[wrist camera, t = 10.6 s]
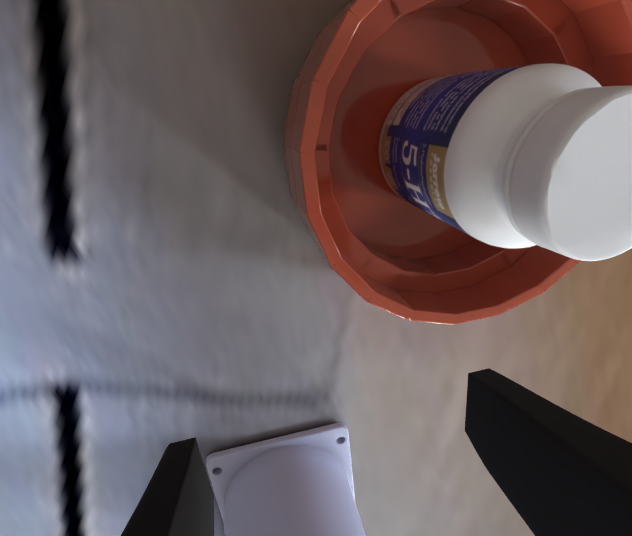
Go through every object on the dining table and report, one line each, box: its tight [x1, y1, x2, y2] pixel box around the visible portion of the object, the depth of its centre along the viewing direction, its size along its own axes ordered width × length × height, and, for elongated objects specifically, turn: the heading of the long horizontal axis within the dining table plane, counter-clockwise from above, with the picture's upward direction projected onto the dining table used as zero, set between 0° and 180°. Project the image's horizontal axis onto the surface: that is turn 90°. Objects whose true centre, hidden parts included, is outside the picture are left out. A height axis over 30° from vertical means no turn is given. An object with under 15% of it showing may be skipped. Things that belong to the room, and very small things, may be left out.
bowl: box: [284, 0, 632, 324], centre depth 15 cm, size 13×13×4 cm
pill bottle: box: [378, 63, 632, 261], centre depth 13 cm, size 5×5×9 cm
